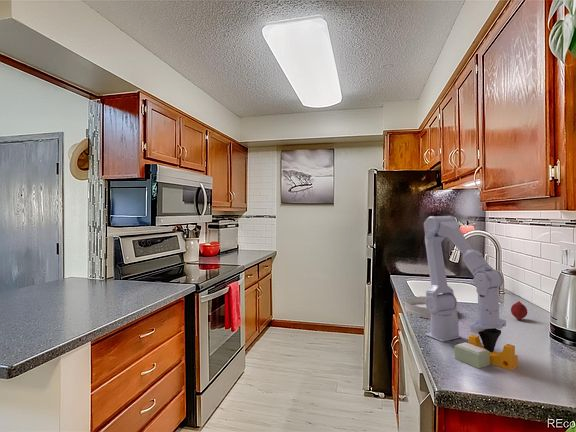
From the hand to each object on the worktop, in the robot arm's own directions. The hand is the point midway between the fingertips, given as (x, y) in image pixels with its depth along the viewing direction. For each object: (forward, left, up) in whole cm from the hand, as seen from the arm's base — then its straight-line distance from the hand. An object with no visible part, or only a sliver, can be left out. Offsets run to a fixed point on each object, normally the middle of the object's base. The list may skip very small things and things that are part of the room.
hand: (488, 352), depth 108 cm
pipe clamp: (+2, +3, -2) cm, 4 cm away
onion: (-46, -18, -2) cm, 50 cm away
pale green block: (+8, 0, -1) cm, 8 cm away
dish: (-23, -43, -2) cm, 49 cm away
